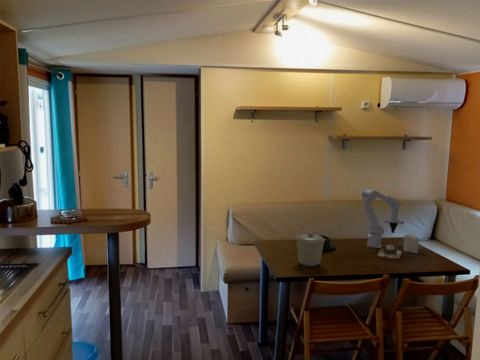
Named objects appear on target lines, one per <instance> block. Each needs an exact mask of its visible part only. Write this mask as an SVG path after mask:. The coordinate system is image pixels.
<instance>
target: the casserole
mask: <svg viewBox="0 0 480 360" xmlns="http://www.w3.org/2000/svg"><path fill="white" fill-rule="evenodd" d="M318 235H319V236H321V237H323V238H324V239H325V241H324V244H323V250H322V252H324V251H328V250H331V249H336V248H337V246H336V245H335V244H333V243H331V242H332V241H331V238H330V237H329V236H327V235H322V234H318Z"/></svg>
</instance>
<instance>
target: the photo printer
mask: <svg viewBox="0 0 480 360" xmlns="http://www.w3.org/2000/svg"><path fill="white" fill-rule="evenodd" d="M419 241H420V238H419V237H418V236H417V235H415V234H410V233H409V234H405V235H404V237H403V251H404V252H408V253H412V254H418V253H419V245H420V244H419V243H420V242H419Z"/></svg>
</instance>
